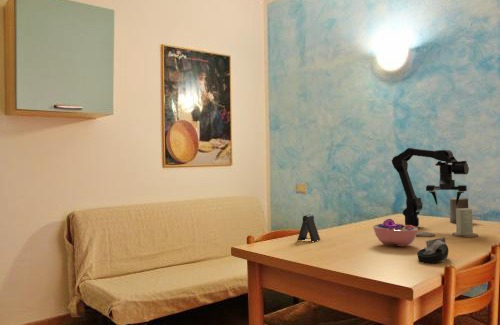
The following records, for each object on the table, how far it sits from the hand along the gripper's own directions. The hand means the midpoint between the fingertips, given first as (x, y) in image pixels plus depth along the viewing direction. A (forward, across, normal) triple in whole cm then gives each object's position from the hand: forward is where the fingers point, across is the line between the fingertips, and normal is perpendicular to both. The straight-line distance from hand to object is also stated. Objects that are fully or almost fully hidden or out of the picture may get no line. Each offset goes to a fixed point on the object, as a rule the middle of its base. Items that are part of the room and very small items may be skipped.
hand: (446, 205), depth 220 cm
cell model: (+14, -17, -48) cm, 52 cm away
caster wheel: (+14, 0, -70) cm, 71 cm away
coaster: (+13, -10, -18) cm, 24 cm away
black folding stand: (+14, -56, -50) cm, 76 cm away
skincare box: (+13, +8, -12) cm, 20 cm away
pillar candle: (+13, +4, +29) cm, 32 cm away
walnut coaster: (+13, +8, -12) cm, 20 cm away
